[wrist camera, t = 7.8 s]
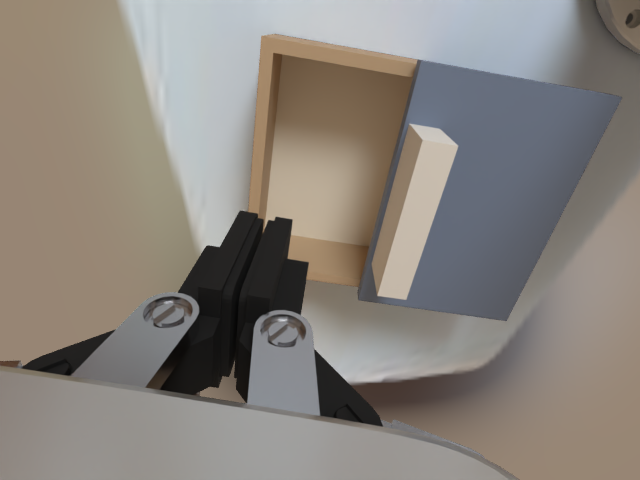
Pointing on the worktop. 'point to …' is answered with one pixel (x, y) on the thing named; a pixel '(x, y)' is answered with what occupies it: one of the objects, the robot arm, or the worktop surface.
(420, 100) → the cabinet door panel
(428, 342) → the worktop surface
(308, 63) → the cabinet body box
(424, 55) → the worktop surface
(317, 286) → the worktop surface
